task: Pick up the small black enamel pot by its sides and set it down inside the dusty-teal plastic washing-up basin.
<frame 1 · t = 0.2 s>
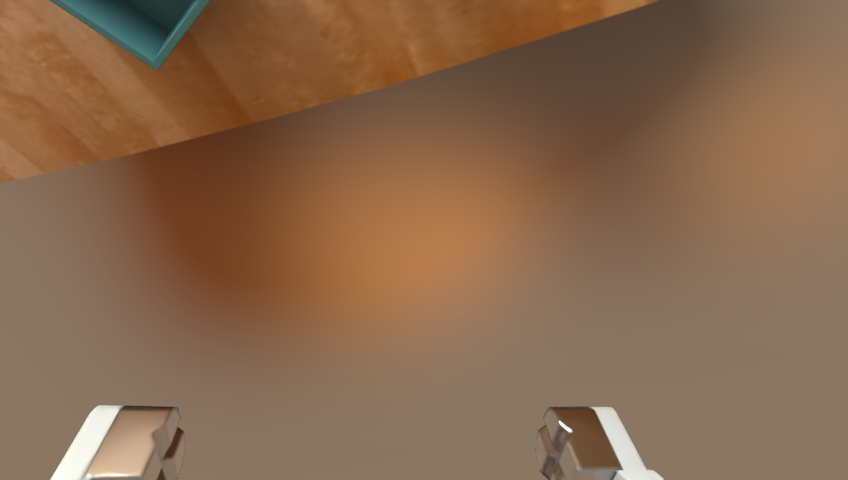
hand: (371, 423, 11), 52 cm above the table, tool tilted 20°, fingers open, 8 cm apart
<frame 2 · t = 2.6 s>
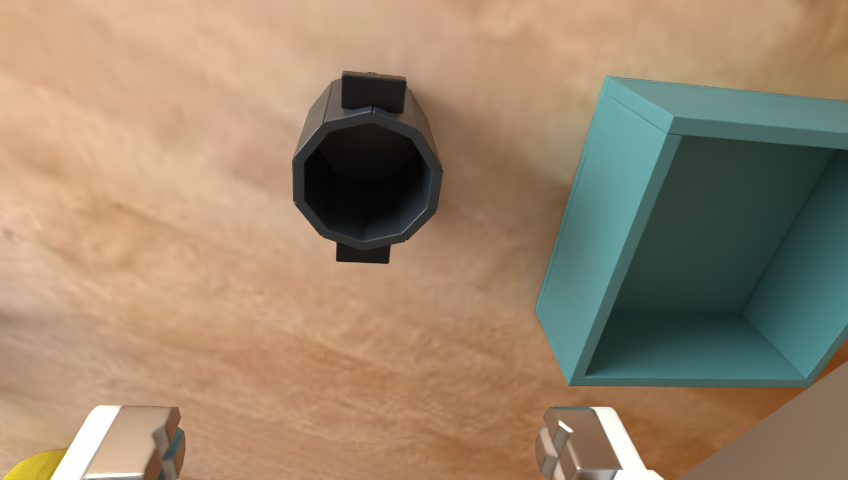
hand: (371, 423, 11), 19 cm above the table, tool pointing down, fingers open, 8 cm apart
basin: (683, 216, 32), on the table
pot: (368, 132, 27), on the table
lemon: (68, 448, 39), on the table
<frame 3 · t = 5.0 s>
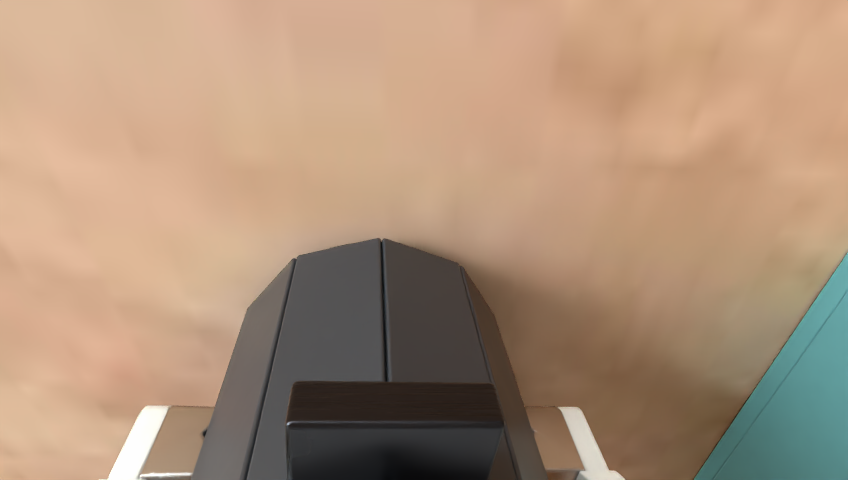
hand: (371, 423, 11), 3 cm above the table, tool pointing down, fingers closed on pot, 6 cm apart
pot: (372, 335, 13), on the table, touching gripper
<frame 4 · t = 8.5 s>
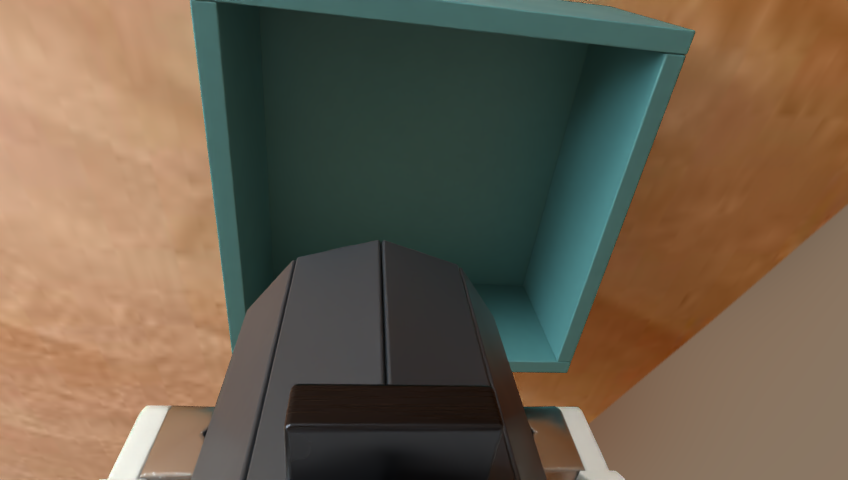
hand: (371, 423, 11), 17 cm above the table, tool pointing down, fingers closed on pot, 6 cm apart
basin: (415, 159, 26), on the table
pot: (372, 336, 13), point 14 cm above the table, touching gripper
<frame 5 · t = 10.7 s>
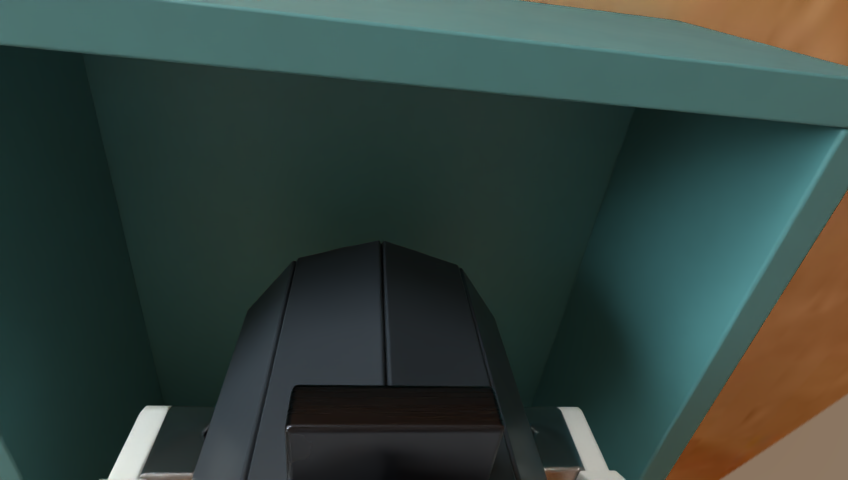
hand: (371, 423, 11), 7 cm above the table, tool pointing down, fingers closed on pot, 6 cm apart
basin: (367, 251, 17), on the table
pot: (372, 337, 13), point 4 cm above the table, touching gripper
when the fingers open (3 cm above the table, at t = 12.3 s): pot stays where it is, resting on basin.
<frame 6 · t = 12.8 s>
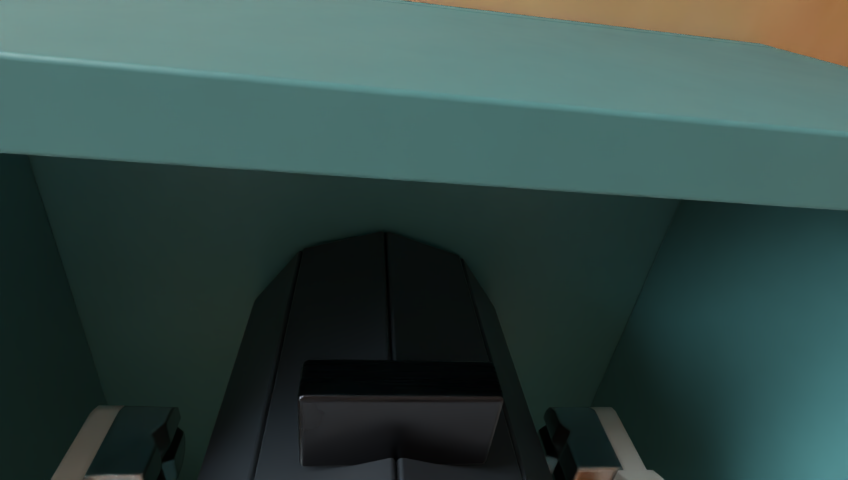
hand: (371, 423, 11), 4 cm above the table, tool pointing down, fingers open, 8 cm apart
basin: (372, 314, 14), on the table
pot: (375, 327, 14), point 1 cm above the table, touching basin
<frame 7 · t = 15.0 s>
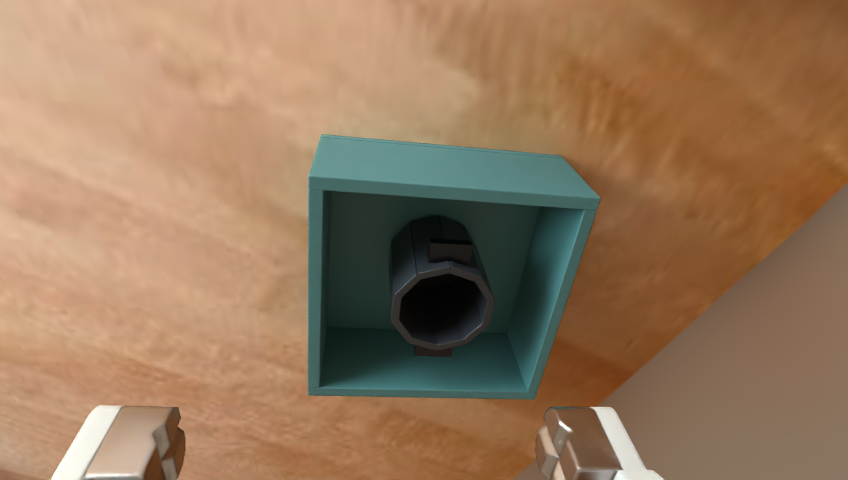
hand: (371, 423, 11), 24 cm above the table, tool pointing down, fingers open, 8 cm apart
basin: (429, 249, 37), on the table
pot: (432, 252, 37), point 1 cm above the table, touching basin
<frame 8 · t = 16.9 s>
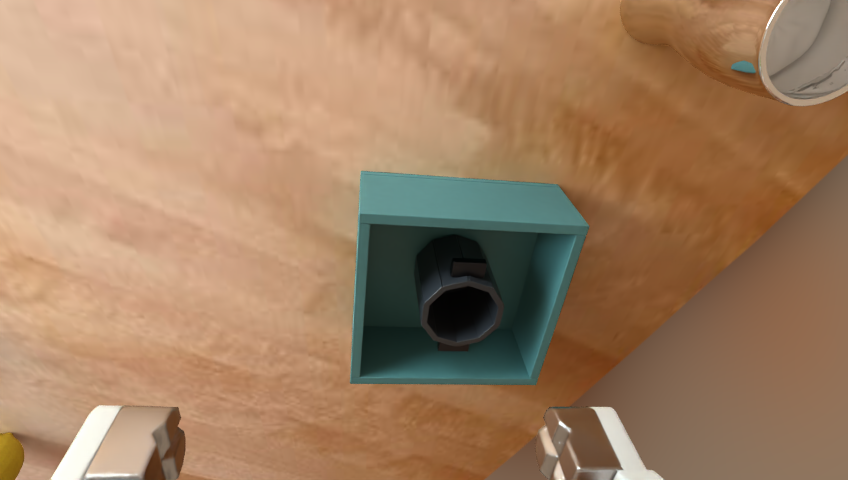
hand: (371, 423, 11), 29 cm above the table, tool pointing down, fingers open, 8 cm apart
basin: (447, 260, 44), on the table
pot: (450, 264, 44), point 1 cm above the table, touching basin
lemon: (11, 432, 51), on the table
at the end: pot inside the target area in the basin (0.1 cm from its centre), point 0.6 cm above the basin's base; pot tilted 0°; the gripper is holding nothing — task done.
